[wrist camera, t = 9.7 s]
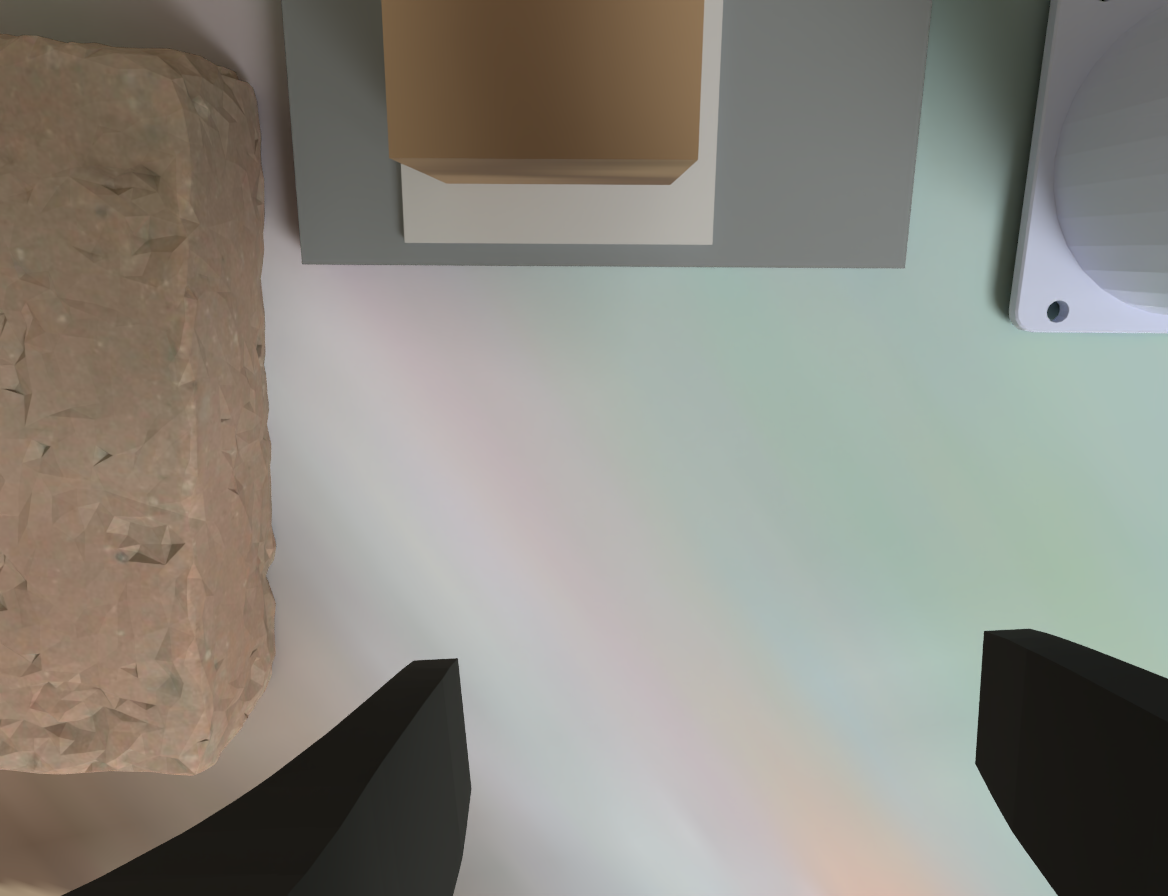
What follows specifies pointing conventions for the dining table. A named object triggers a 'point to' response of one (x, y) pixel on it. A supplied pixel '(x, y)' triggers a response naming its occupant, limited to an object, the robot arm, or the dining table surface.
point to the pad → (580, 194)
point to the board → (743, 159)
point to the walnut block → (544, 89)
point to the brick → (130, 410)
